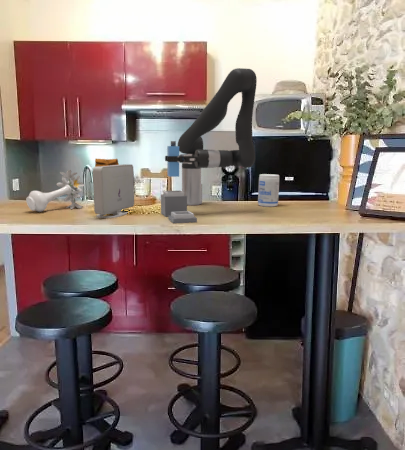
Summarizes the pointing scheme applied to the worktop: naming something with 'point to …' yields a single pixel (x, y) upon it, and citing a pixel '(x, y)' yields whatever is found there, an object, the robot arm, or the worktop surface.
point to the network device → (113, 189)
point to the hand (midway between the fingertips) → (166, 158)
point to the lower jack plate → (182, 217)
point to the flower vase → (57, 193)
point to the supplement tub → (268, 190)
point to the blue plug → (173, 166)
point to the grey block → (173, 202)
